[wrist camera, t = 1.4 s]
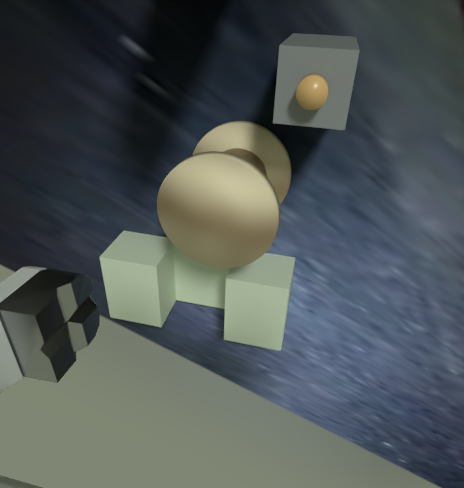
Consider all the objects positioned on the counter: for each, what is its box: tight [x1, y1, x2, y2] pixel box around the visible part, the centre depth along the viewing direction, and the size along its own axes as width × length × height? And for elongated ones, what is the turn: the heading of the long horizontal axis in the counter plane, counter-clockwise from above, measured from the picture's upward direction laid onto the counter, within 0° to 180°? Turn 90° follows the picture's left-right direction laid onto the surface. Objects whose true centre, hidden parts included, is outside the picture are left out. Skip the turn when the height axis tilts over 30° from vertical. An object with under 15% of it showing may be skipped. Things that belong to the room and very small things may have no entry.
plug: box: [273, 33, 360, 130], centre depth 24 cm, size 4×4×8 cm
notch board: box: [100, 231, 295, 351], centre depth 37 cm, size 7×16×5 cm, turn 88°
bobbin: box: [157, 121, 292, 268], centre depth 29 cm, size 8×8×8 cm
